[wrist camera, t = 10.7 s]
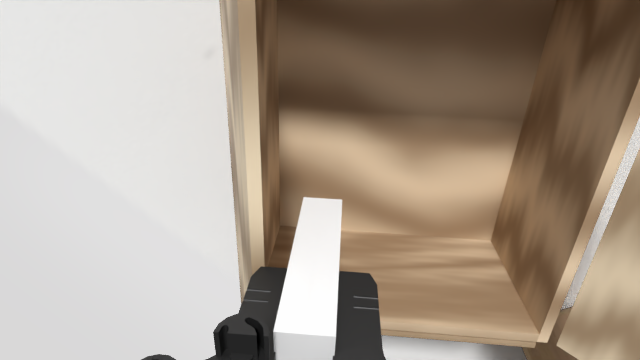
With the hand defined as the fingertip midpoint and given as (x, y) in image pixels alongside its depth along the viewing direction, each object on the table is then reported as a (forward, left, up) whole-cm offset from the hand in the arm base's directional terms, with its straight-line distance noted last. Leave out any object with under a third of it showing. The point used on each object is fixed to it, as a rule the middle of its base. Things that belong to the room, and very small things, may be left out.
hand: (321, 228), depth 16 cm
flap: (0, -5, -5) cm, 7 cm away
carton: (0, +4, -15) cm, 15 cm away
